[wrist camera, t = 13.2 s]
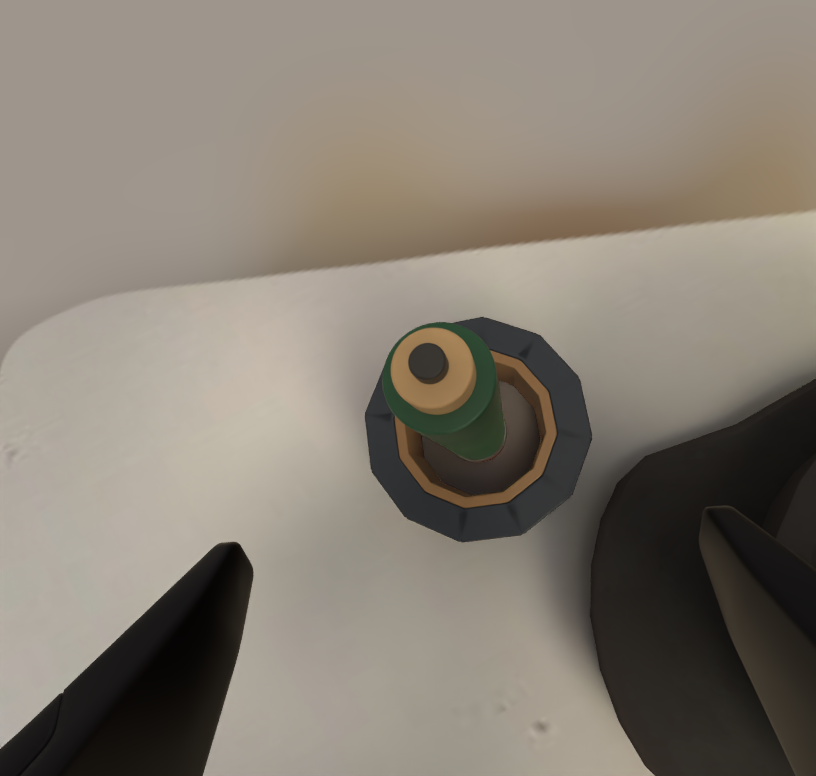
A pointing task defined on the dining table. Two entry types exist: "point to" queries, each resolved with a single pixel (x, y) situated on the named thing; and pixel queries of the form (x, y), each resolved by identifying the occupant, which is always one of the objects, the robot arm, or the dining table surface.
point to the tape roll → (531, 494)
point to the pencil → (447, 389)
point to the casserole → (697, 590)
